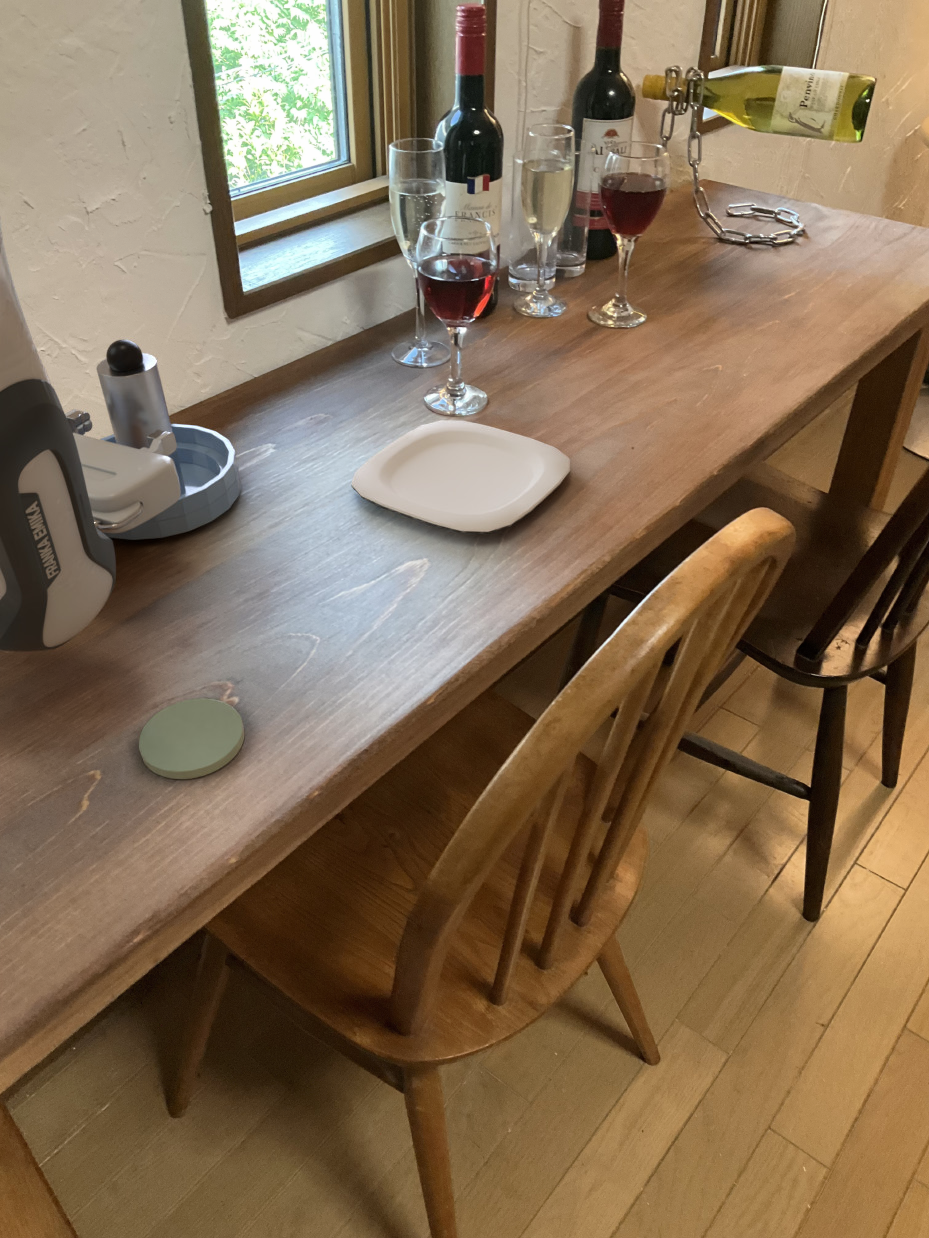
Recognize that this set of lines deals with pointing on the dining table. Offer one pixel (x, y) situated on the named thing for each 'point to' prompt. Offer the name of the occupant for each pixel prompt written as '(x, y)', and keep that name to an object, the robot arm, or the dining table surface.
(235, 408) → the dining table surface
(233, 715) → the coaster
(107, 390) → the pepper mill
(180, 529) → the bowl
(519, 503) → the plate
